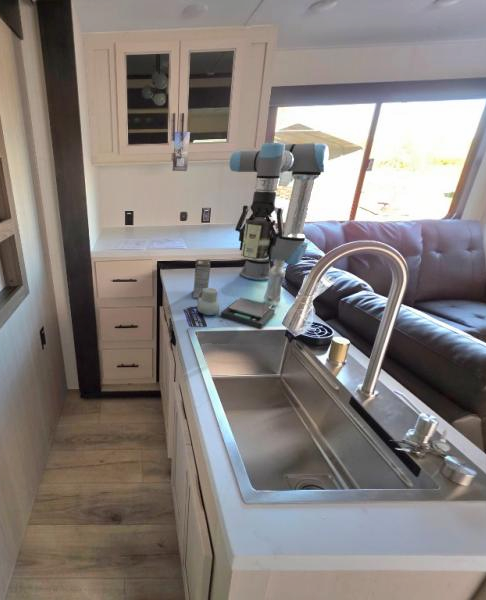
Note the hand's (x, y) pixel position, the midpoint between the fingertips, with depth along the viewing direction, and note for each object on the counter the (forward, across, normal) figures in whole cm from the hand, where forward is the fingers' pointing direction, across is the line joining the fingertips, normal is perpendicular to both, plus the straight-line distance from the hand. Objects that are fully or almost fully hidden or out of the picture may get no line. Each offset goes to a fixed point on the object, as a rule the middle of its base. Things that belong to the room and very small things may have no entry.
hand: (255, 251), depth 121 cm
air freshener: (+26, -12, -11) cm, 30 cm away
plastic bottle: (+26, +6, +14) cm, 30 cm away
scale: (+25, +2, -4) cm, 26 cm away
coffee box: (+26, -23, +3) cm, 35 cm away
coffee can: (+2, 0, 0) cm, 2 cm away
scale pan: (+23, +2, -2) cm, 23 cm away
